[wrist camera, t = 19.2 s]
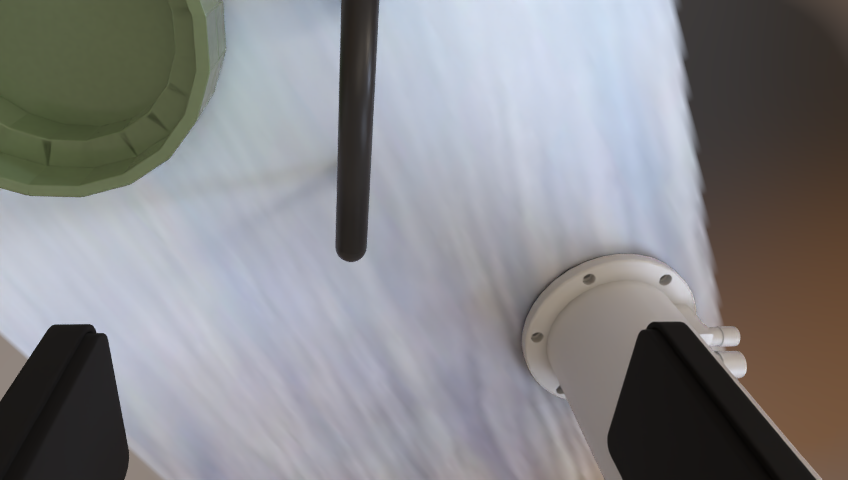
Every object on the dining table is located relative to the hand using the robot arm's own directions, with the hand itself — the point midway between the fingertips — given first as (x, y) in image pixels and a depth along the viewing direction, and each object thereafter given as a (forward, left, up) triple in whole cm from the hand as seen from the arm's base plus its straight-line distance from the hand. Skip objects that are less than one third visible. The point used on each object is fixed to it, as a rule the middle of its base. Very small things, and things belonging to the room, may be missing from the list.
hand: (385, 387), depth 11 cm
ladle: (0, -1, -26) cm, 26 cm away
